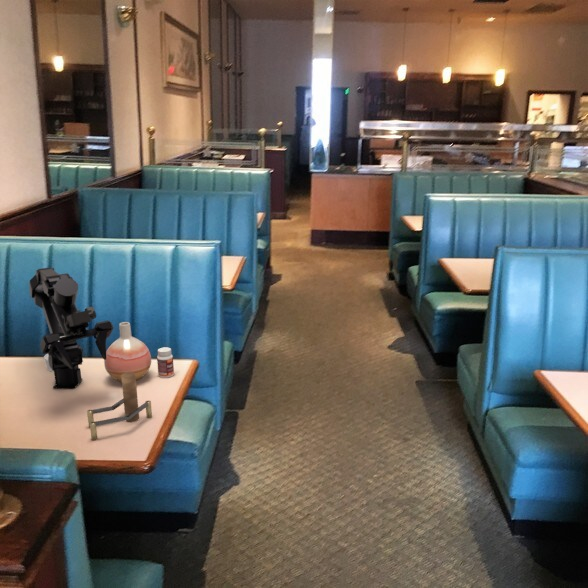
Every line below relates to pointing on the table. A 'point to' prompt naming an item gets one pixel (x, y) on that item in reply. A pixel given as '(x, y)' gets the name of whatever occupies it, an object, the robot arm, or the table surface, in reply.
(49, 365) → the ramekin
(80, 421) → the table surface
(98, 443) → the table surface
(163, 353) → the pill bottle
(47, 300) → the robot arm
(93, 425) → the wire course
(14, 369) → the table surface
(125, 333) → the vase
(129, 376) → the walnut peg
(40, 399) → the table surface
